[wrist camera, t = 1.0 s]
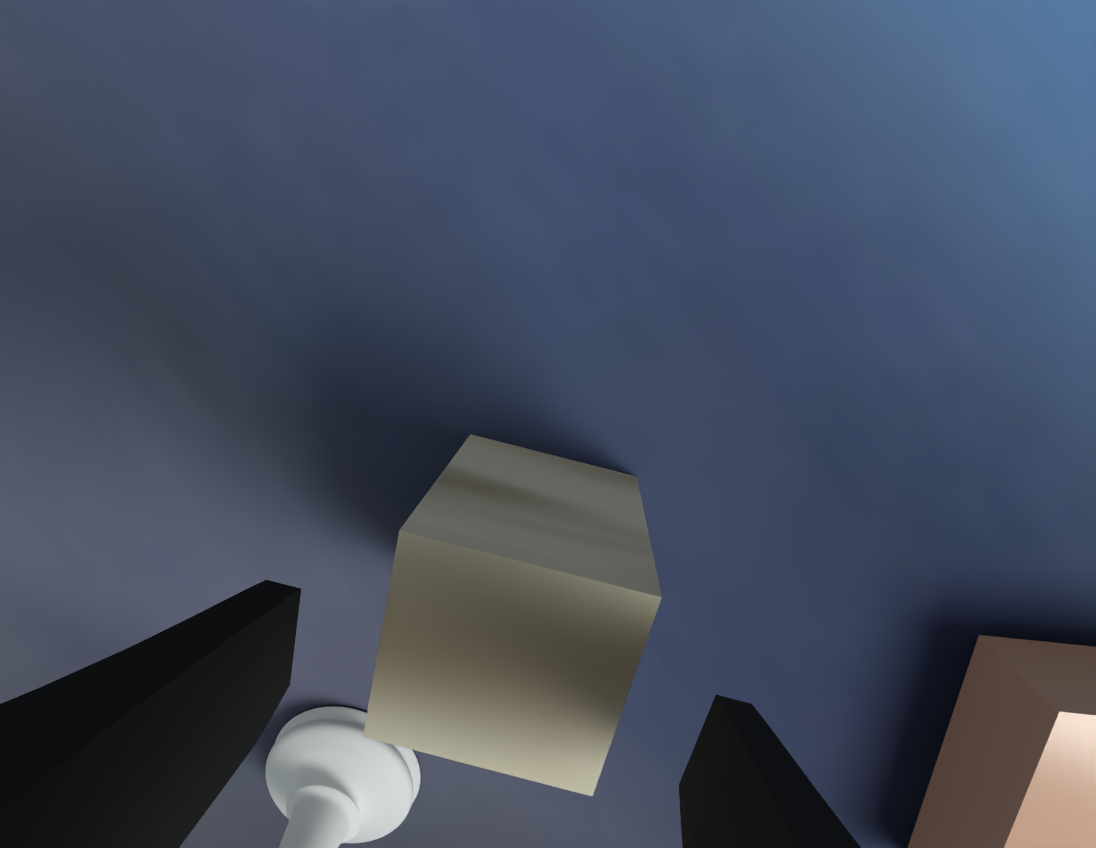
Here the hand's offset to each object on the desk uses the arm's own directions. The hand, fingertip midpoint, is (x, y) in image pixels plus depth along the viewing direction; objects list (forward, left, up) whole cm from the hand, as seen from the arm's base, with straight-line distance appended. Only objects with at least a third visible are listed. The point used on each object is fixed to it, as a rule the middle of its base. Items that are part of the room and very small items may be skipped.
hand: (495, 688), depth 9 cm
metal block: (0, 0, -6) cm, 6 cm away
